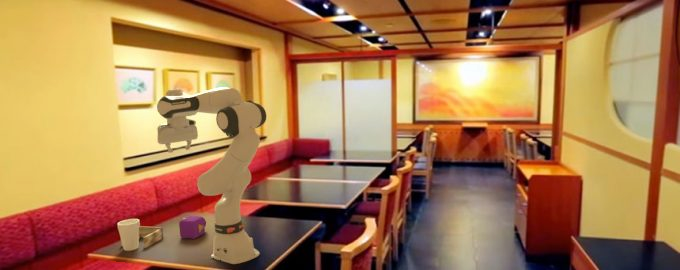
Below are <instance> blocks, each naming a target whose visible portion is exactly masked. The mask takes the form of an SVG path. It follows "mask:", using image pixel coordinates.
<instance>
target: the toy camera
mask: <svg viewBox="0 0 680 270" xmlns="http://www.w3.org/2000/svg"><path fill="white" fill-rule="evenodd" d="M206 225H207V220H206V219H205V218H204V217H203V216H199V215H198V216H197V215H188V216H186V217H183V218H182V219H180V221H179V222H178V227H179V236H180V238H181V239H194V240H195V239H197V238H199V237H200V236H202V235H203V234H205V233H206Z"/></svg>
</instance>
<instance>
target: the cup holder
mask: <svg viewBox="0 0 680 270" xmlns="http://www.w3.org/2000/svg"><path fill="white" fill-rule="evenodd" d="M163 228H164V227H161V226H146V225H145V226H144V225H143V226H142V225H140V226H139V239H140V238H142V243H143V248H144V249H146V248H148V247H150V246H152V245H153V244H156V243H157V242H159V241H161V240H162V239H164V230H163ZM119 237H120V236H119ZM120 239H121V237H120ZM120 246H121V247H123V245H122V241H121V240H120Z"/></svg>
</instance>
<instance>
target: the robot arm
mask: <svg viewBox="0 0 680 270" xmlns="http://www.w3.org/2000/svg"><path fill="white" fill-rule="evenodd" d="M156 104H157V105H156V110H157V112H158V114H159V115H160V116H161V117H162V118H163V119H166V123H164V124H162V123H161V124H159V126H157V128H156V129H157V143H158V144H159V145H164V146H165V148H166V149H167V152H168V153H169V154H170V153H171V154H172V153H174V149H173V148H171V144H172V143H173V144H174V143H180V142H186V145H185V146H184V149H185V150H186V151H187V150H191V145H192V141H193V140H197V139H198V138H199V134H198V127H197V126H196V123H197V122H196V120H193V119H190V118H188V117H191V116H195V115H197V113H203V114H211V115H212V114H213V115H216V118H215V119H216V120H215V121H216V125H217V127H218V128H219V129H220V130H221V132H222V133H224V134H225V136H227V137H229V138H233V139H232V141H231V143H230V144H229V146H228V148H227V150H226V152H225V153H224V155H223V156H222V158H221V159H220V160H219V161H218V162H217V163H215V164H214V165H213V166H212V167H211V168H210V169H208V170H207V171H205V172H203V173H201V174H200V175H199V176H198V178H197V181H196V182H197V183H196V184H197V185H196V186H197V188H198V191H199V193H201V195H203V196H209V197H210V196H218V195H221V194H222V195H221V198H220V199H219V200H218V202H216V203H215V205H214V219H215V222H214V231H215V235H214V237H213V240H212V241H213V244H212V246H213V248H212V250H213V251H212V252H213V253H212V254H211V255H210V258H211V259H213V258H214V260H217V261H220V260H221V262H224V263H227V264H232V265H237V264H241V263H242V264H243V263H246V262H248V261H251V260H253V259H255V258H258V257H259V256H260V251H259V250H258V249H256V248H255V246H254V240H253V239H254V238H253V237H250V236H249V234H248V233H247V232H246V231H245V229H244V227H245V225H244V223H243V221H242V217H241V201H242V197H243V194H244V192H245V190H246V189H247V186H248V185H250V183H251V181H252V174H251V171H250V169H249V166H250V164H251V162H252V161H253V159H254V158H255V155H256V154H257V151H258V148H259V145H260V142H261V140H260V136H259V134H258V133H257V132H256V131H254V129H257V128H260V127H262V126H263V125H264V124H265V123H266V121H267V112H266V110H265V108H264V107H263V106H262V105H261V104H259V103H256V102H254V101H252V100H251V99H247V100H246V101H245V100H243V96H242V94H241V92H240V91H239V90H238V89H237V88H234V87H217V88H213V89H209V90H205V91H203V92H199V93H197V94H193V95H190V94H187V93H185V91H184V90H183V89H182V88H173V89H172V88H170V89H168V90H167V91H166V93H165V95H164V96H162V97H161V98H160V99H159V101H158V102H157V103H156Z"/></svg>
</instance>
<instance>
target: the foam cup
mask: <svg viewBox="0 0 680 270" xmlns="http://www.w3.org/2000/svg"><path fill="white" fill-rule="evenodd" d="M139 226H141V223H140V219H138V218H128V219H124V220H121V221H119V222H117V230H118V233H119V237H121V238H120V242H121V241H122V245H123V246H122V247H123V250H124V251H127V252H129V251H134V250H137V249H138V248H139V241H140V238H139Z"/></svg>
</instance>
